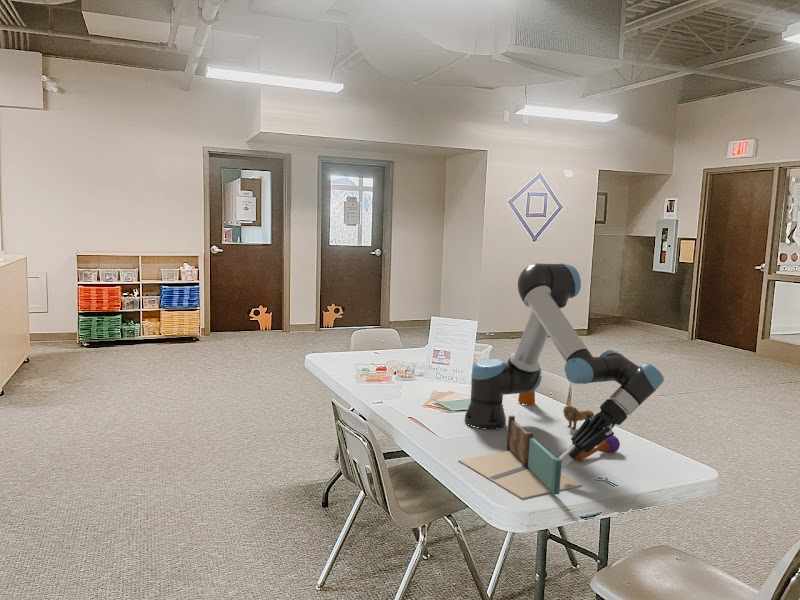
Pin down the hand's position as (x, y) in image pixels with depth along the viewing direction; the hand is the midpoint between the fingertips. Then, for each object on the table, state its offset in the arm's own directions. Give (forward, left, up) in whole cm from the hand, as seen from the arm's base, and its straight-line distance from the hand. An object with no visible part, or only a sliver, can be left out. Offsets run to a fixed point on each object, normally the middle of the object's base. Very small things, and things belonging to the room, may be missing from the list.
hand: (560, 463), depth 185 cm
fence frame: (-15, +11, -5) cm, 19 cm away
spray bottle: (-30, +74, -5) cm, 81 cm away
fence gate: (-4, -5, -4) cm, 8 cm away
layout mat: (-12, -2, -5) cm, 13 cm away
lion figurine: (-4, +53, -5) cm, 54 cm away
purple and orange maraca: (+6, +27, -5) cm, 28 cm away
